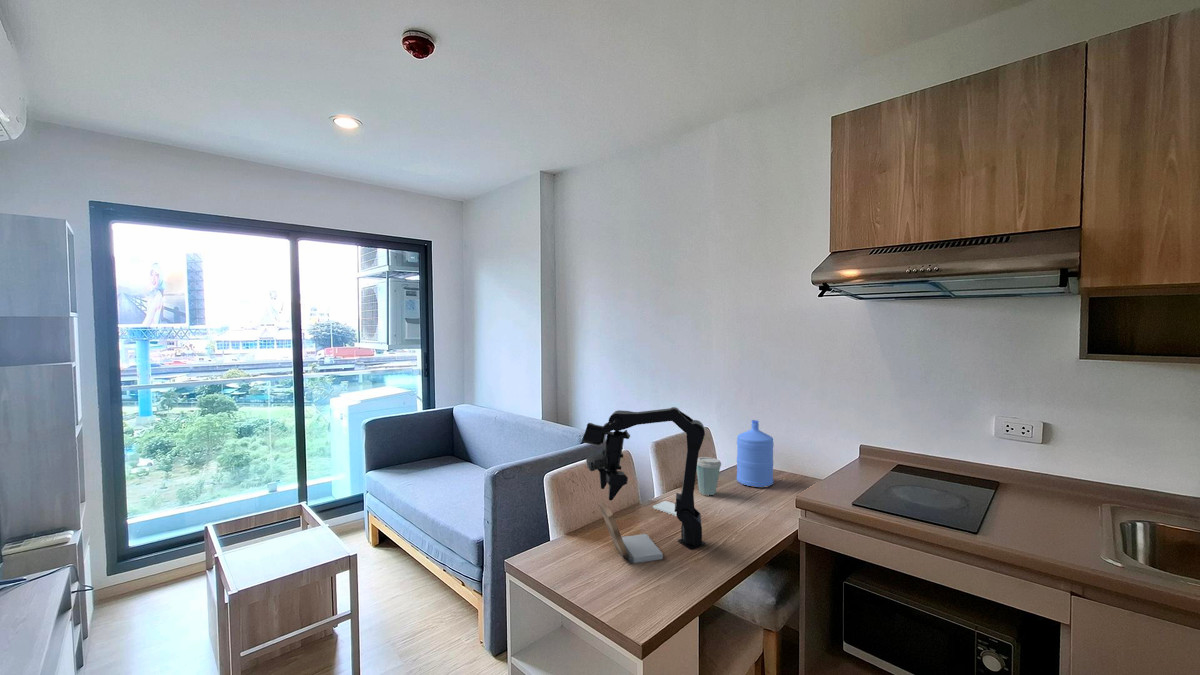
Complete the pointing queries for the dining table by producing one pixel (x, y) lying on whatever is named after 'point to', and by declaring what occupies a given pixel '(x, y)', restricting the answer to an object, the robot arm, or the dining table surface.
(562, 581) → the dining table surface
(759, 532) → the dining table surface
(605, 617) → the dining table surface
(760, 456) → the water jug
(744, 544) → the dining table surface
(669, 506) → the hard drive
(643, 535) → the base board
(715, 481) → the disposable coffee cup
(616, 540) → the plank
